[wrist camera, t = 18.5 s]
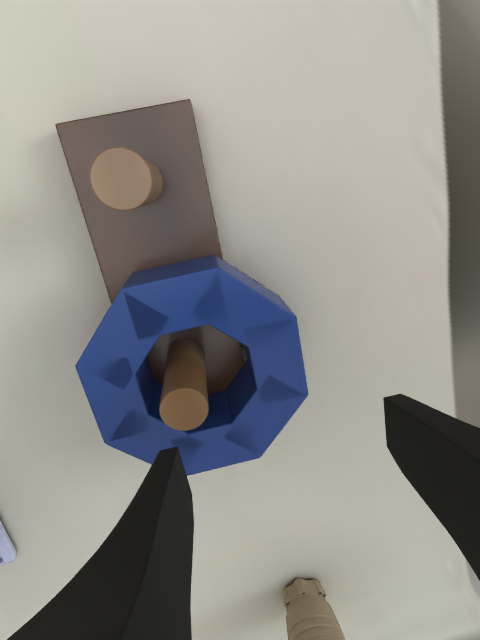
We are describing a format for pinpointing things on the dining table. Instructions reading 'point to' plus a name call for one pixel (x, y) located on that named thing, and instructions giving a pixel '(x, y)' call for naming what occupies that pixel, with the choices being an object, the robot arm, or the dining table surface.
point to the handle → (310, 612)
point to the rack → (154, 233)
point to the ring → (224, 406)
